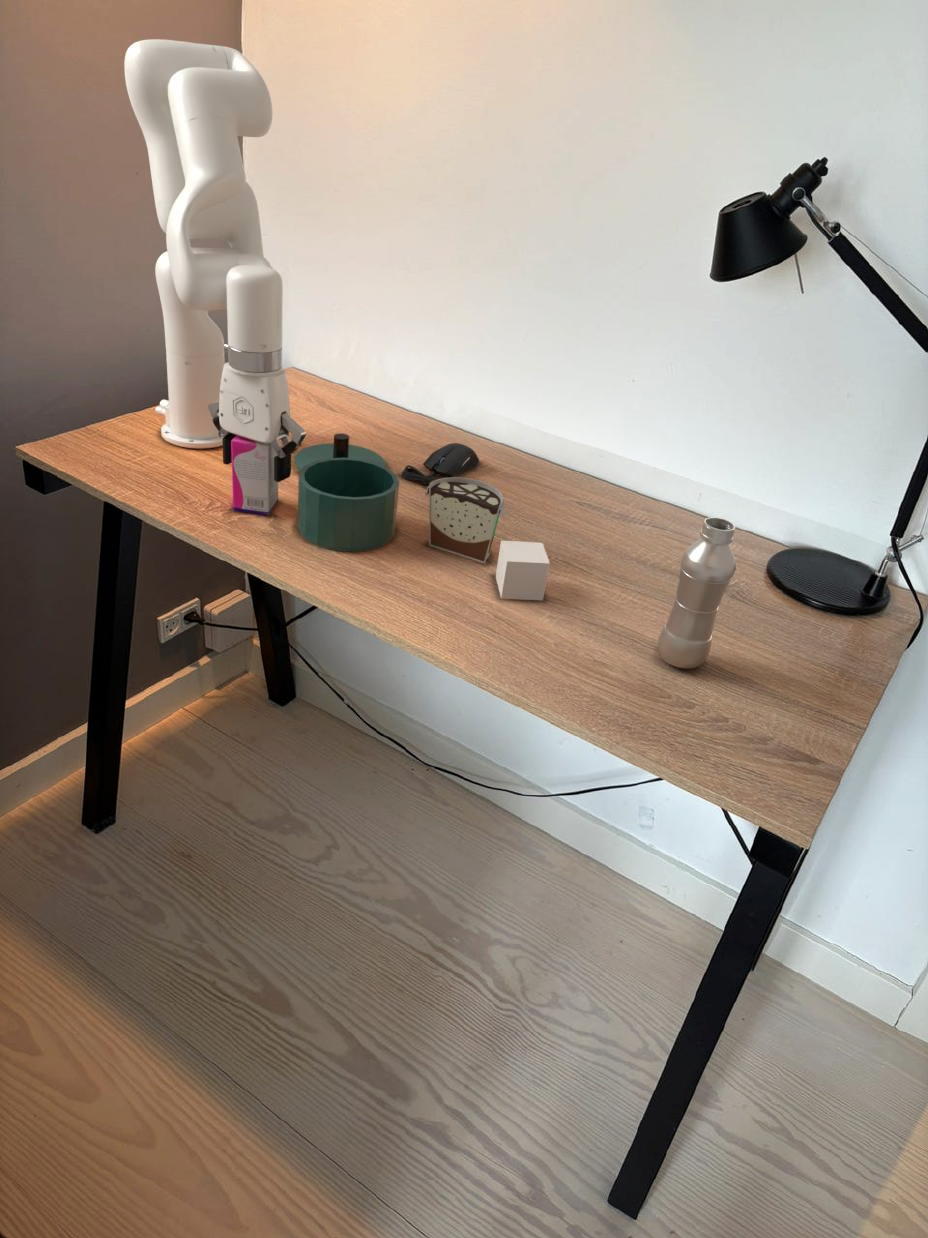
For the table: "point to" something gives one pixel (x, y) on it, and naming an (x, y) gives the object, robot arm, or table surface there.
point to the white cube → (522, 570)
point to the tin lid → (335, 452)
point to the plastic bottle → (699, 595)
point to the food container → (464, 516)
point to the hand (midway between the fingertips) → (256, 470)
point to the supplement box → (253, 476)
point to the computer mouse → (444, 463)
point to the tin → (347, 504)
